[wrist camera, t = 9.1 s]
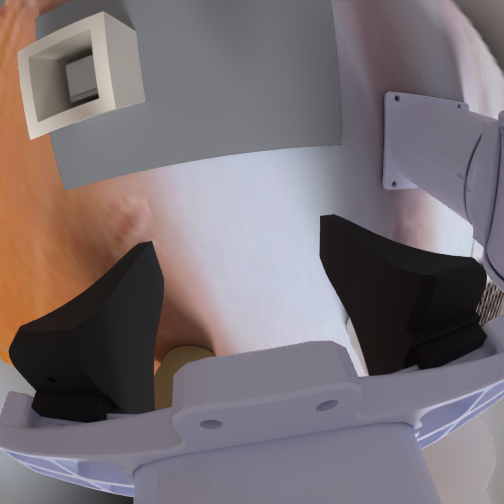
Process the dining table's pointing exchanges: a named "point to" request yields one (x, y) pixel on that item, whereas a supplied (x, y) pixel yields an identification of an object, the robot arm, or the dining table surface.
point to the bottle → (455, 455)
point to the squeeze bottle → (170, 367)
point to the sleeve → (69, 50)
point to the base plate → (204, 84)
